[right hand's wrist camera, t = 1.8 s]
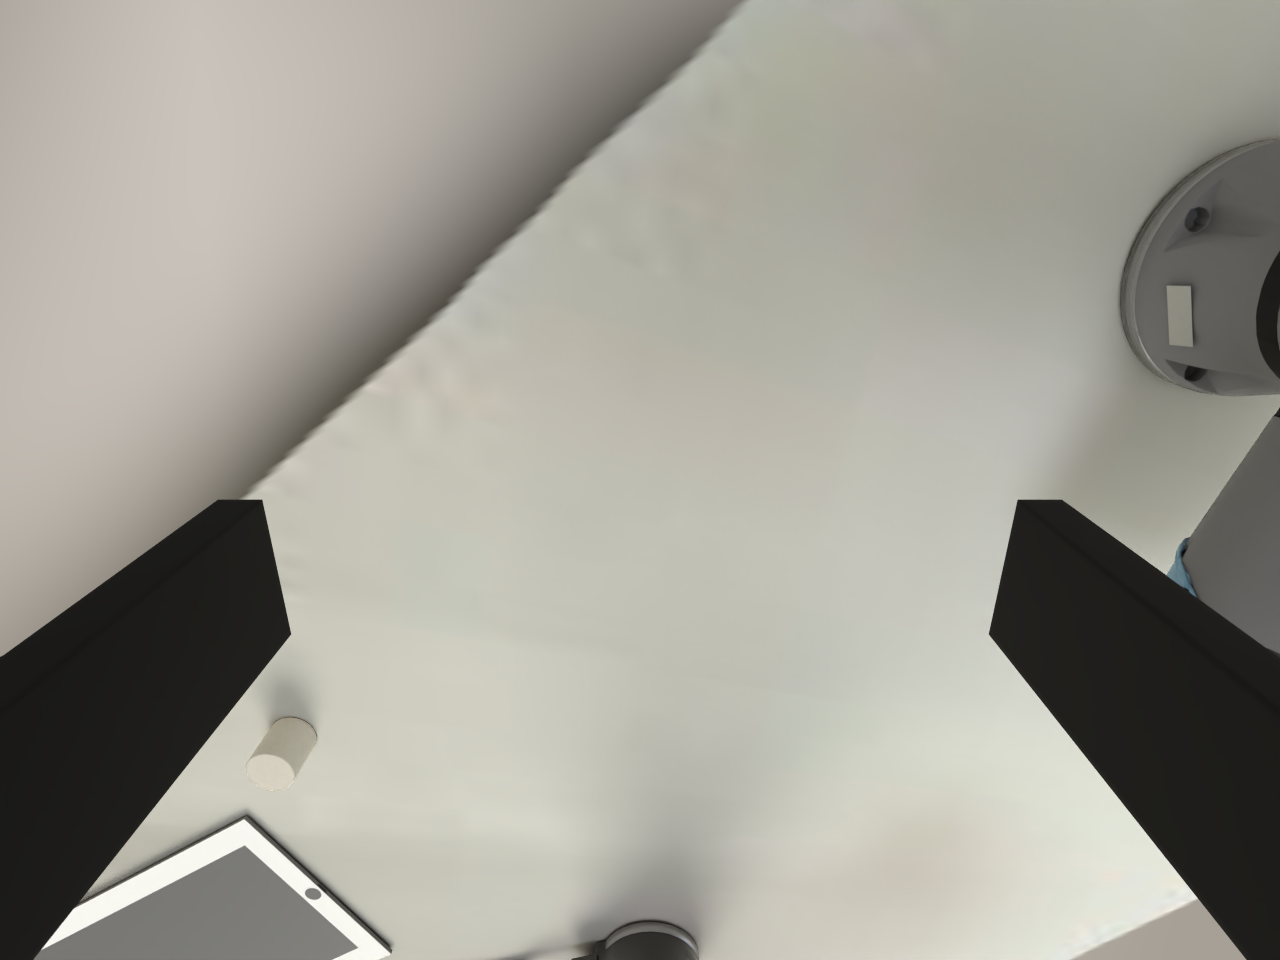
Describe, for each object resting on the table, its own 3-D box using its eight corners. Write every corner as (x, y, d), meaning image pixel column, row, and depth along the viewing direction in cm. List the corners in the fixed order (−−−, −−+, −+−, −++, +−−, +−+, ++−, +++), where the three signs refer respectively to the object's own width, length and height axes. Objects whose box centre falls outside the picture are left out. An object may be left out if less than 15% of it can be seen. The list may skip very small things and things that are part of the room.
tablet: (152, 1058, 75) (150, 1062, 74) (-4, 945, 68) (-8, 949, 68) (392, 950, 69) (391, 954, 68) (245, 814, 62) (243, 818, 62)
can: (265, 718, 58) (239, 755, 55) (310, 715, 58) (287, 752, 54) (277, 754, 60) (252, 792, 56) (321, 751, 60) (299, 790, 56)
